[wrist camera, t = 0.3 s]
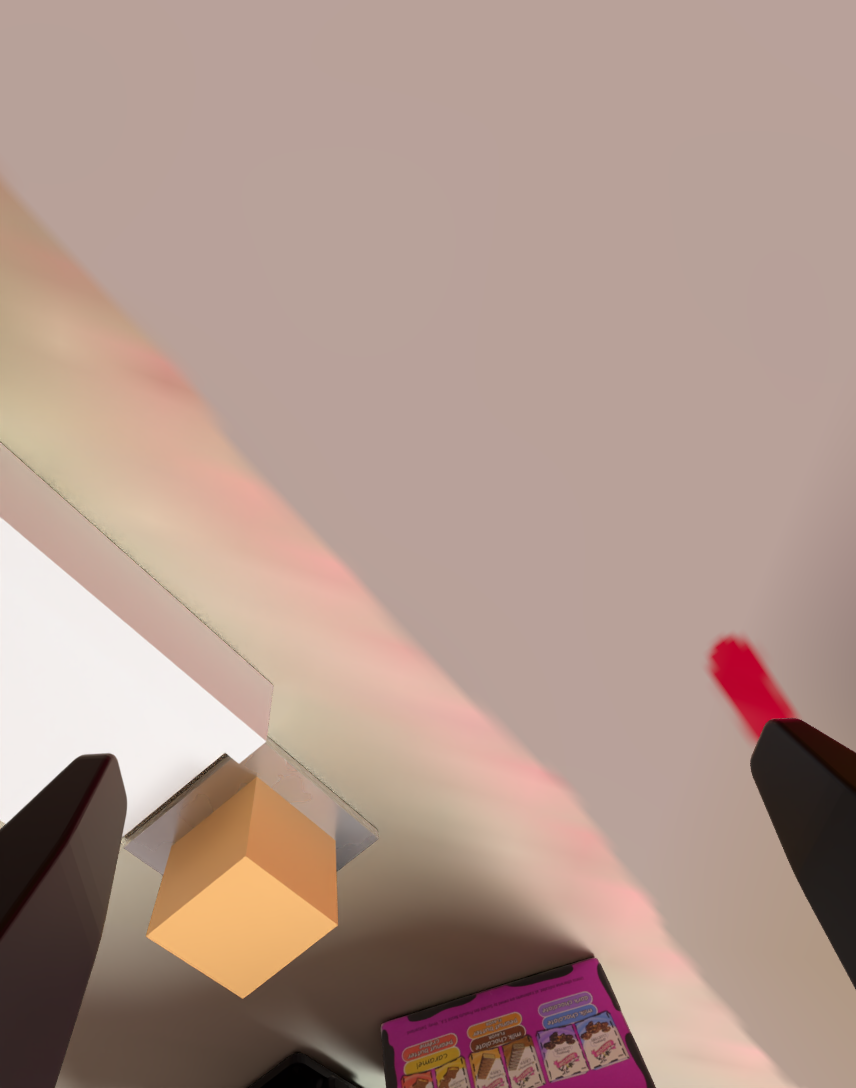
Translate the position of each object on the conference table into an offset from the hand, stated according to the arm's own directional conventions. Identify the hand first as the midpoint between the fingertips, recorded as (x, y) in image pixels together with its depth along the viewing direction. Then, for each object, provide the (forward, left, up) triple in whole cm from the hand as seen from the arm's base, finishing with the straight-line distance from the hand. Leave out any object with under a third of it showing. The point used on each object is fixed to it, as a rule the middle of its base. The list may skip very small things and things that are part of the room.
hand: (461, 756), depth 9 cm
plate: (-13, -8, -15) cm, 21 cm away
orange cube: (-13, -8, -14) cm, 21 cm away
